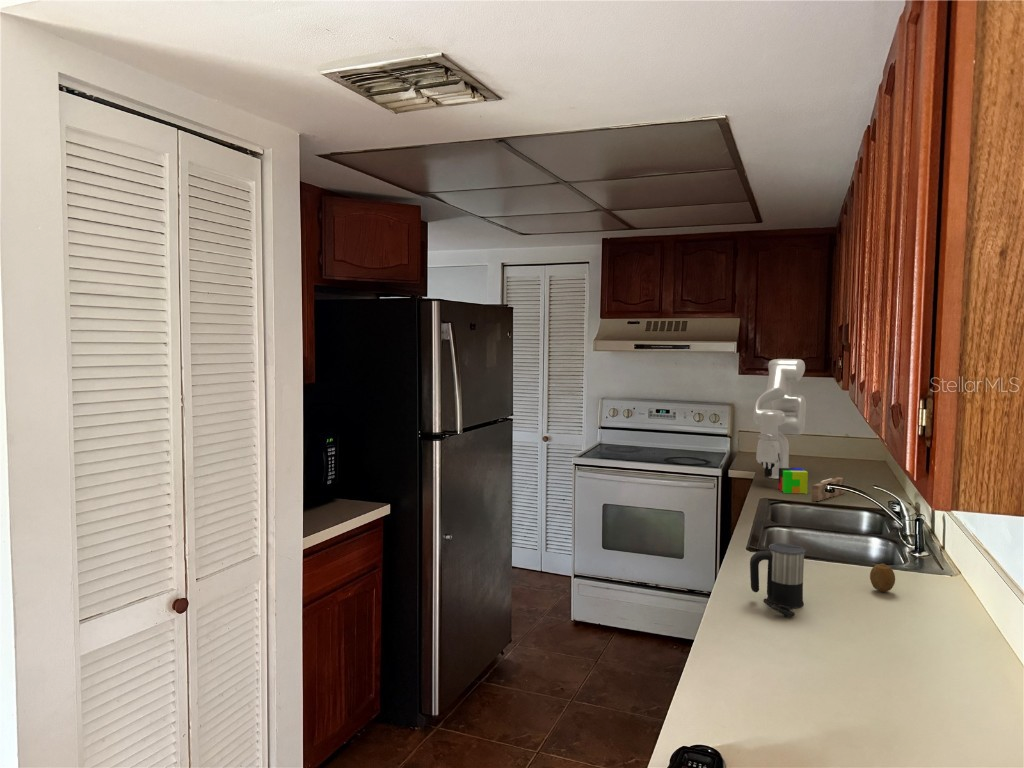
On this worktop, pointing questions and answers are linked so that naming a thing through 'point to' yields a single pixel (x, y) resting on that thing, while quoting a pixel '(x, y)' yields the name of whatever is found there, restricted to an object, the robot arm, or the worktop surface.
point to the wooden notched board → (820, 493)
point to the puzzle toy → (793, 480)
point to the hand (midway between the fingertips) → (768, 476)
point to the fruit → (882, 577)
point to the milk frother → (781, 576)
